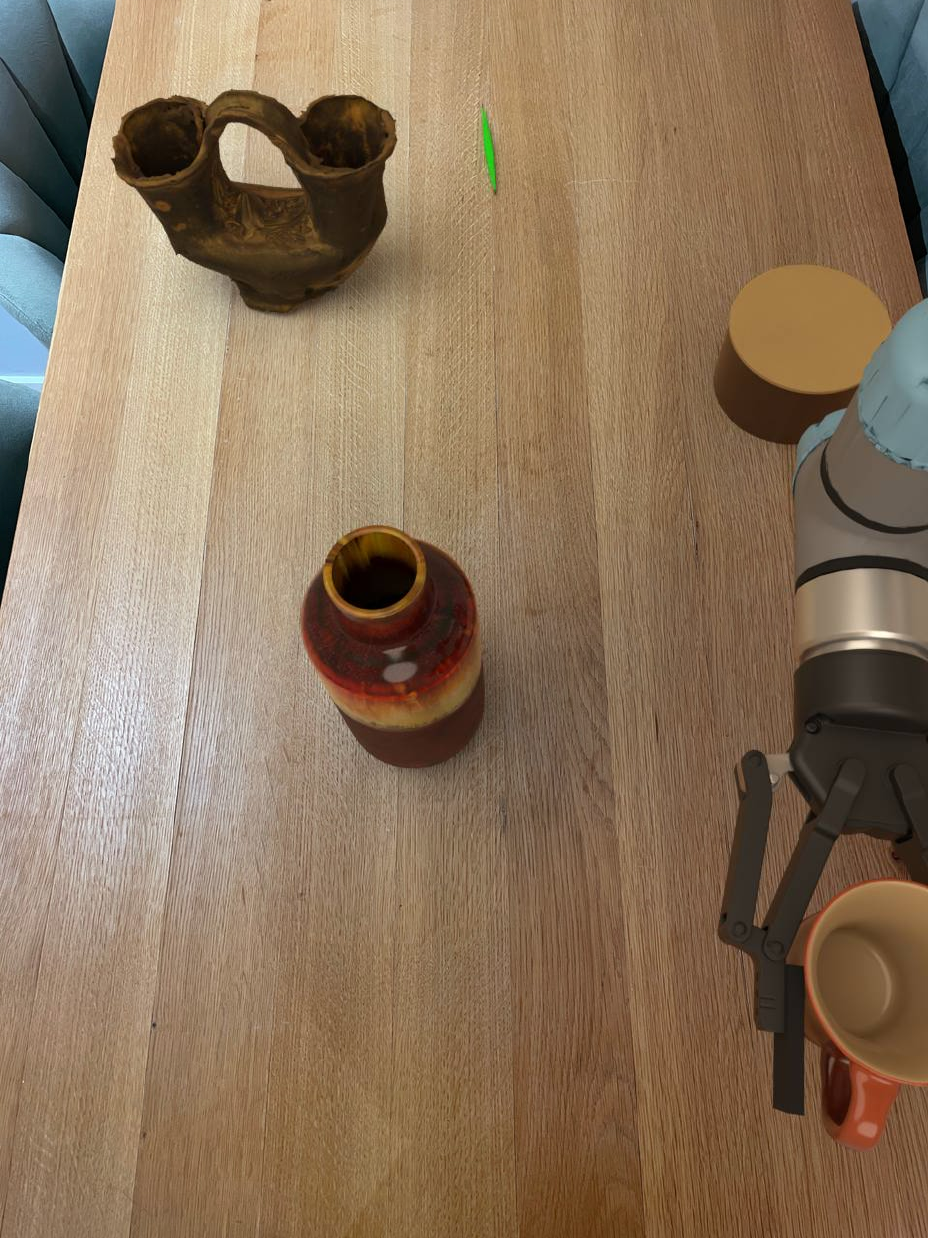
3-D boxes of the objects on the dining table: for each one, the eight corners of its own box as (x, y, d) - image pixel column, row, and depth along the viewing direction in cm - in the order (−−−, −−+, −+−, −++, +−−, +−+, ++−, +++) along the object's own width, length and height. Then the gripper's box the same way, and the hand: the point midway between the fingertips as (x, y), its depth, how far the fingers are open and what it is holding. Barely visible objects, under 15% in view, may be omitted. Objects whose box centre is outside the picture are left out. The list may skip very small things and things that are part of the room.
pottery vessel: (421, 236, 96) (399, 52, 77) (412, 322, 92) (387, 148, 73) (180, 235, 97) (104, 54, 79) (161, 318, 93) (76, 148, 75)
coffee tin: (855, 329, 89) (886, 267, 81) (864, 450, 83) (898, 395, 76) (711, 322, 90) (728, 260, 82) (711, 441, 85) (730, 387, 77)
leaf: (491, 200, 97) (491, 193, 96) (477, 104, 102) (477, 98, 102) (500, 199, 97) (500, 192, 96) (486, 103, 102) (486, 97, 102)
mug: (778, 877, 54) (830, 849, 45) (934, 935, 52) (1022, 919, 43) (721, 1093, 50) (764, 1113, 41) (887, 1164, 49) (973, 1202, 39)
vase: (332, 676, 78) (250, 524, 54) (456, 628, 79) (431, 457, 55) (377, 800, 73) (310, 694, 49) (508, 747, 75) (505, 618, 51)
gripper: (1021, 708, 55) (1061, 1150, 46) (671, 669, 57) (647, 1086, 48) (1094, 665, 48) (1157, 1174, 40) (692, 622, 50) (669, 1098, 42)
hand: (876, 1125), depth 44 cm, fingers closed on mug, 7 cm apart
